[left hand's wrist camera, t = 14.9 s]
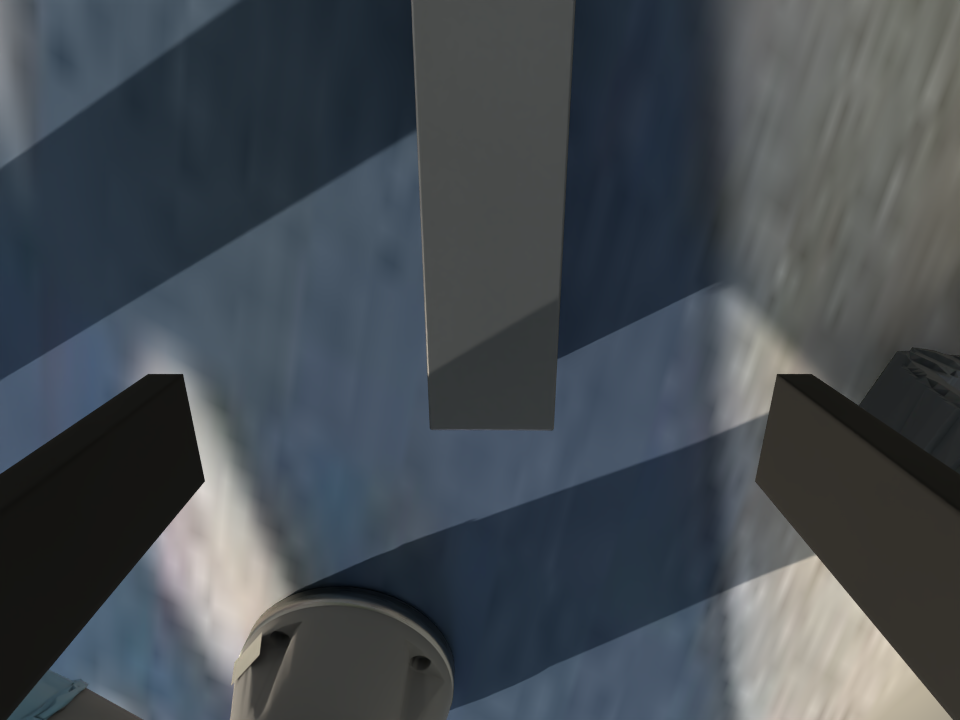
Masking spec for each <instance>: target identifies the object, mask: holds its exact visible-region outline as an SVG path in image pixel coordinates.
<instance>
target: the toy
mask: <svg viewBox="0 0 960 720" xmlns="http://www.w3.org/2000/svg"><path fill="white" fill-rule="evenodd" d="M859 406H860V407H861V408H863V409H864V410H866V411H867V412H868V413H870V414H871V415H873V416H874V417H876V418H877V419H879V420H880V421H882V422H883V423H885V424H886V425H888V426H889V427H891V428H892V429H894V430H895V431H897V432H898V433H899V434H901V435H902V436H904V437H905V438H907V439H908V440H910V441H911V442H913V443H914V444H916V445H917V446H919V447H920V448H922V449H923V450H925V451H926V452H928V453H929V454H931V455H932V456H933V457H935V458H936V459H938V460H939V461H941V462H942V463H944V464H945V465H947V466H948V467H950V468H951V469H953V470H954V471H956V472H957V473H959V474H960V356H955V355H945V354H942V353H939V352H936V351H933V350H926V349H919V348H913V347H912V349H911V350H910V351H897V353H896V354H895V356H894V357H893V358H892V360H891V361H890V363H889V364H888V365H887V367H886V368H885V370H884V371H883V372H882V374H881V375H880V377H879V378H878V379H877V381H876V382H875V384H874V385H873V387H872V388H871V389H870V391H869V392H868V394H867V395H866V396H865V398H864V399H863V401H862V402H861V403H860V405H859Z"/></svg>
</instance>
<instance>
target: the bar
mask: <svg viewBox="0 0 960 720" xmlns="http://www.w3.org/2000/svg"><path fill="white" fill-rule="evenodd" d="M575 2H576V0H411V8H412V31H413V54H414V77H415V100H416V123H417V146H418V168H419V191H420V214H421V237H422V260H423V283H424V306H425V329H426V352H427V375H428V397H429V420H430V429H431V430H542V431H552V430H553V429H554V413H555V393H556V374H557V354H558V335H559V315H560V296H561V276H562V256H563V237H564V217H565V198H566V178H567V159H568V139H569V120H570V100H571V81H572V61H573V41H574V22H575Z"/></svg>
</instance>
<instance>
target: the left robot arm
mask: <svg viewBox="0 0 960 720" xmlns="http://www.w3.org/2000/svg"><path fill="white" fill-rule="evenodd" d="M204 482H205V479H204V475H203V470H202V465H201V460H200V455H199V450H198V445H197V440H196V436H195V431H194V426H193V421H192V416H191V411H190V406H189V401H188V397H187V392H186V387H185V382H184V377H183V374H148V375H146V376H145V377H143V378H142V379H140V380H139V381H137V382H136V383H134V384H133V385H131V386H130V387H129V388H127V389H126V390H124V391H123V392H121V393H120V394H118V395H117V396H115V397H114V398H112V399H111V400H109V401H108V402H106V403H105V404H103V405H102V406H100V407H99V408H97V409H96V410H95V411H93V412H92V413H90V414H89V415H87V416H86V417H84V418H83V419H81V420H80V421H78V422H77V423H75V424H74V425H72V426H71V427H69V428H68V429H66V430H65V431H63V432H62V433H61V434H59V435H58V436H56V437H55V438H53V439H52V440H50V441H49V442H47V443H46V444H44V445H43V446H41V447H40V448H38V449H37V450H35V451H34V452H32V453H31V454H29V455H28V456H27V457H25V458H24V459H22V460H21V461H19V462H18V463H16V464H15V465H13V466H12V467H10V468H9V469H7V470H6V471H4V472H3V473H1V474H0V720H143V719H141V718H139V717H137V716H136V715H134V714H132V713H130V712H128V711H127V710H125V709H123V708H121V707H119V706H118V705H116V704H114V703H112V702H110V701H109V700H107V699H105V698H103V697H101V696H100V695H98V694H96V693H94V692H92V691H91V690H89V689H87V688H86V687H87V686H88V683H86V682H84V681H82V680H81V679H78V680H73V681H71V680H69V679H67V678H65V677H63V676H61V675H59V674H57V673H55V672H52V671H50V670H49V668H50V667H51V666H52V665H53V664H54V662H55V661H56V660H57V659H58V658H59V656H60V655H61V654H62V653H63V652H64V650H65V649H66V648H67V647H68V645H69V644H70V643H71V642H72V641H73V639H74V638H75V637H76V636H77V635H78V633H79V632H80V631H81V630H82V629H83V627H84V626H85V625H86V624H87V623H88V621H89V620H90V619H91V618H92V617H93V615H94V614H95V613H96V612H97V611H98V609H99V608H100V607H101V606H102V605H103V603H104V602H105V601H106V600H107V599H108V597H109V596H110V595H111V594H112V592H113V591H114V590H115V589H116V588H117V586H118V585H119V584H120V583H121V582H122V580H123V579H124V578H125V577H126V576H127V574H128V573H129V572H130V571H131V570H132V568H133V567H134V566H135V565H136V564H137V562H138V561H139V560H140V559H141V558H142V556H143V555H144V554H145V553H146V552H147V550H148V549H149V548H150V547H151V545H152V544H153V543H154V542H155V541H156V539H157V538H158V537H159V536H160V535H161V533H162V532H163V531H164V530H165V529H166V527H167V526H168V525H169V524H170V523H171V521H172V520H173V519H174V518H175V517H176V515H177V514H178V513H179V512H180V511H181V509H182V508H183V507H184V506H185V505H186V503H187V502H188V501H189V500H190V498H191V497H192V496H193V495H194V494H195V492H196V491H197V490H198V489H199V488H200V486H201V485H202V484H203V483H204ZM755 482H756V483H757V484H758V485H759V486H760V488H761V489H762V490H763V491H764V492H765V494H766V495H767V496H768V497H769V499H770V500H771V501H772V502H773V503H774V505H775V506H776V507H777V508H778V509H779V511H780V512H781V513H782V514H783V515H784V517H785V518H786V519H787V520H788V521H789V523H790V524H791V525H792V526H793V527H794V529H795V530H796V531H797V532H798V533H799V535H800V536H801V537H802V538H803V539H804V541H805V542H806V543H807V544H808V545H809V547H810V548H811V549H812V550H813V552H814V553H815V554H816V555H817V556H818V558H819V559H820V560H821V561H822V562H823V564H824V565H825V566H826V567H827V568H828V570H829V571H830V572H831V573H832V574H833V576H834V577H835V578H836V579H837V580H838V582H839V583H840V584H841V585H842V586H843V588H844V589H845V590H846V591H847V592H848V594H849V595H850V596H851V597H852V599H853V600H854V601H855V602H856V603H857V605H858V606H859V607H860V608H861V609H862V611H863V612H864V613H865V614H866V615H867V617H868V618H869V619H870V620H871V621H872V623H873V624H874V625H875V626H876V627H877V629H878V630H879V631H880V632H881V633H882V635H883V636H884V637H885V638H886V639H887V641H888V642H889V643H890V644H891V645H892V647H893V648H894V649H895V650H896V652H897V653H898V654H899V655H900V656H901V658H902V659H903V660H904V661H905V662H906V664H907V665H908V666H909V667H910V668H911V670H912V671H913V672H914V673H915V674H916V676H917V677H918V678H919V679H920V680H921V682H922V683H923V684H924V685H925V686H926V688H927V689H928V690H929V691H930V692H931V694H932V695H933V696H934V697H935V698H936V700H937V701H938V702H939V703H940V705H941V706H942V707H943V708H944V709H945V711H946V712H947V713H948V714H949V715H950V717H951V718H952V719H953V720H960V474H959V473H957V472H956V471H954V470H953V469H951V468H950V467H948V466H947V465H945V464H944V463H942V462H941V461H939V460H938V459H936V458H935V457H933V456H932V455H931V454H929V453H928V452H926V451H925V450H923V449H922V448H920V447H919V446H917V445H916V444H914V443H913V442H911V441H910V440H908V439H907V438H905V437H904V436H902V435H901V434H899V433H898V432H897V431H895V430H894V429H892V428H891V427H889V426H888V425H886V424H885V423H883V422H882V421H880V420H879V419H877V418H876V417H874V416H873V415H871V414H870V413H868V412H867V411H865V410H864V409H863V408H861V407H860V406H858V405H857V404H855V403H854V402H852V401H851V400H849V399H848V398H846V397H845V396H843V395H842V394H840V393H839V392H837V391H836V390H834V389H833V388H831V387H830V386H829V385H827V384H826V383H824V382H823V381H821V380H820V379H818V378H817V377H815V376H814V375H812V374H777V377H776V382H775V387H774V392H773V397H772V401H771V406H770V411H769V416H768V421H767V426H766V431H765V436H764V440H763V445H762V450H761V455H760V460H759V465H758V470H757V475H756V479H755ZM454 673H455V668H454V660H453V655H452V652H451V649H450V647H449V645H448V643H447V641H446V639H445V638H444V636H443V635H442V633H441V632H440V631H439V629H438V628H437V627H436V626H435V625H434V624H433V623H432V622H431V621H430V620H429V619H428V618H427V617H426V616H424V615H423V614H422V613H421V612H419V611H418V610H416V609H415V608H413V607H412V606H410V605H408V604H406V603H404V602H402V601H400V600H398V599H396V598H394V597H391V596H388V595H386V594H382V593H379V592H376V591H371V590H366V589H361V588H353V587H325V588H317V589H312V590H307V591H304V592H300V593H297V594H294V595H292V596H289V597H287V598H285V599H283V600H281V601H280V602H278V603H276V604H275V605H273V606H272V607H271V608H269V609H268V610H267V611H266V612H265V613H264V614H263V615H262V616H261V617H260V618H259V619H258V621H257V622H256V623H255V625H254V627H253V628H252V630H251V632H250V634H249V636H248V638H247V640H246V642H245V645H244V647H243V649H242V651H241V653H240V656H239V658H238V659H237V660H236V661H235V664H234V670H233V677H232V684H233V683H234V682H235V683H234V692H233V701H232V709H231V718H230V720H446V719H447V716H448V713H449V710H450V707H451V704H452V699H453V688H454ZM232 684H231V685H232Z"/></svg>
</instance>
